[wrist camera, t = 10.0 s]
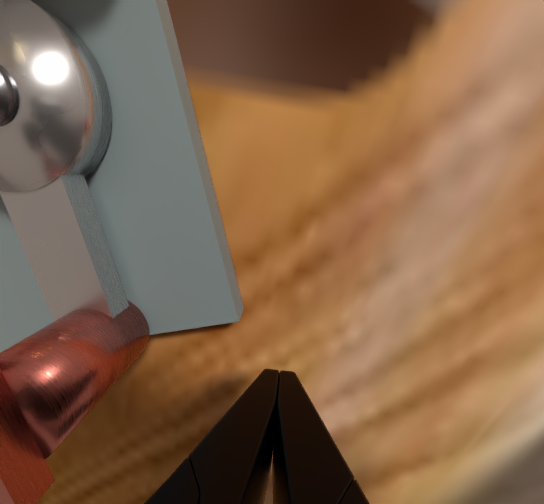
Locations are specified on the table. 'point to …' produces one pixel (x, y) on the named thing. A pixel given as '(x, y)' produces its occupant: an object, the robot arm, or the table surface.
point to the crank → (56, 244)
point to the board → (139, 183)
